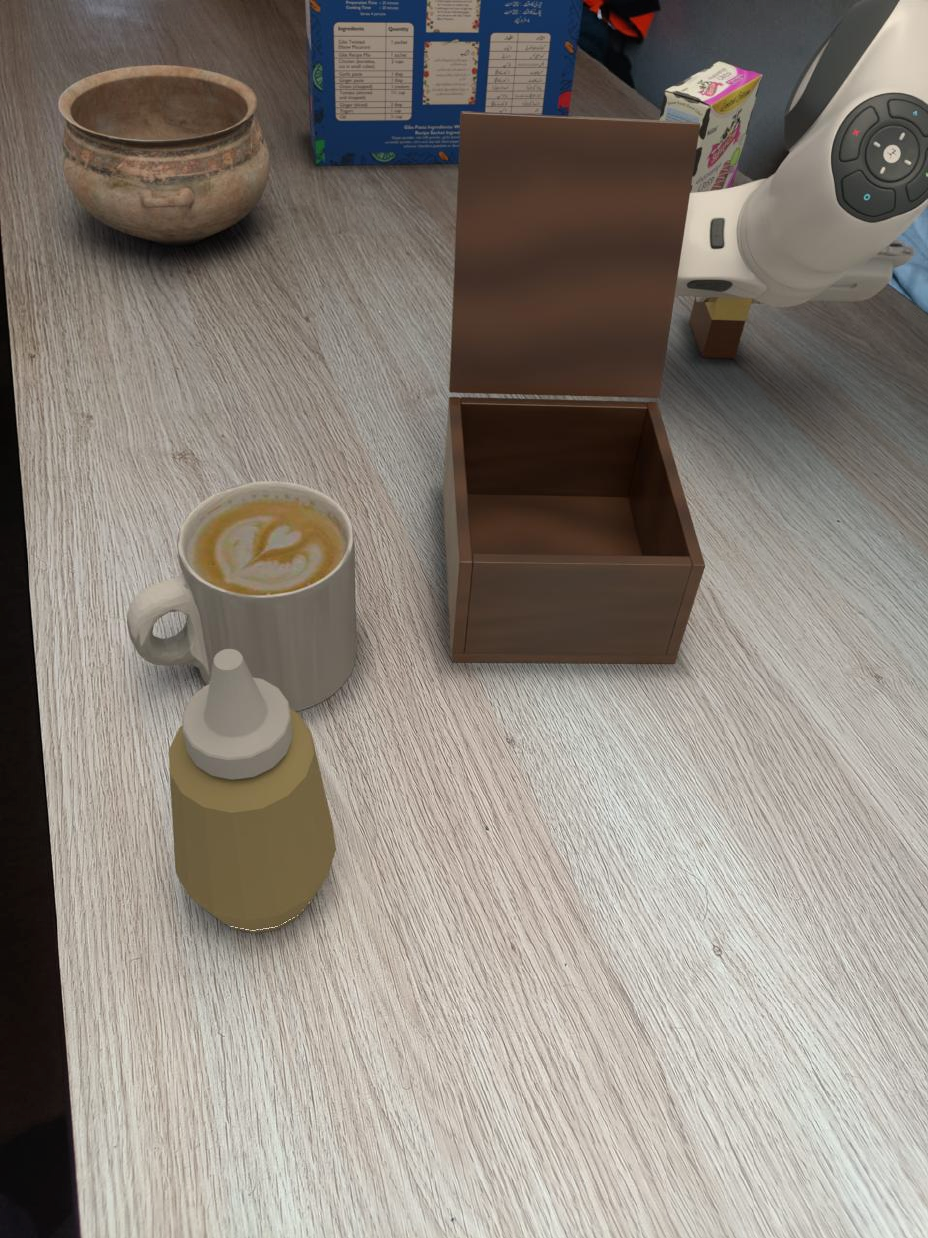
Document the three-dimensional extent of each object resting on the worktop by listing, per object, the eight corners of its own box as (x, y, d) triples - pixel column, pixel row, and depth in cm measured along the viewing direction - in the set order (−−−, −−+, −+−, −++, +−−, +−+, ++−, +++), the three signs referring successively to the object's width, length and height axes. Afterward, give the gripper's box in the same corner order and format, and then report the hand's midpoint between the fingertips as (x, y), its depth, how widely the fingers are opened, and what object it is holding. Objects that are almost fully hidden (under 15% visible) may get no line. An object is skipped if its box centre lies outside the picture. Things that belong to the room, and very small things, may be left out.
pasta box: (546, 132, 127) (579, -151, 107) (562, 161, 122) (600, -132, 102) (310, 135, 122) (298, -161, 102) (316, 165, 117) (304, -141, 97)
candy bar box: (672, 278, 105) (711, 104, 93) (628, 260, 106) (661, 88, 95) (723, 238, 111) (765, 71, 99) (680, 222, 113) (717, 57, 101)
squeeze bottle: (167, 845, 58) (108, 616, 45) (311, 801, 60) (294, 571, 47) (204, 978, 53) (149, 763, 40) (358, 923, 55) (354, 704, 42)
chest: (675, 663, 69) (705, 565, 63) (451, 662, 68) (459, 562, 62) (635, 498, 81) (657, 401, 74) (442, 495, 80) (448, 396, 73)
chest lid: (700, 123, 65) (683, 114, 69) (461, 112, 64) (457, 103, 67) (659, 398, 74) (646, 377, 78) (449, 392, 73) (446, 371, 76)
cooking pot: (286, 288, 99) (277, 156, 90) (72, 299, 95) (41, 162, 86) (263, 171, 115) (254, 49, 106) (81, 176, 112) (56, 51, 103)
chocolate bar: (721, 322, 99) (748, 219, 92) (735, 358, 95) (765, 254, 88) (688, 321, 99) (713, 218, 92) (701, 357, 95) (729, 252, 88)
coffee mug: (340, 588, 72) (336, 471, 65) (370, 699, 66) (370, 583, 58) (136, 617, 69) (108, 498, 62) (147, 737, 63) (117, 620, 55)
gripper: (926, 203, 79) (845, 261, 93) (656, 192, 78) (614, 252, 91) (924, 289, 79) (844, 333, 93) (655, 279, 78) (613, 326, 92)
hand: (728, 293), depth 92 cm, fingers closed on chocolate bar, 3 cm apart
